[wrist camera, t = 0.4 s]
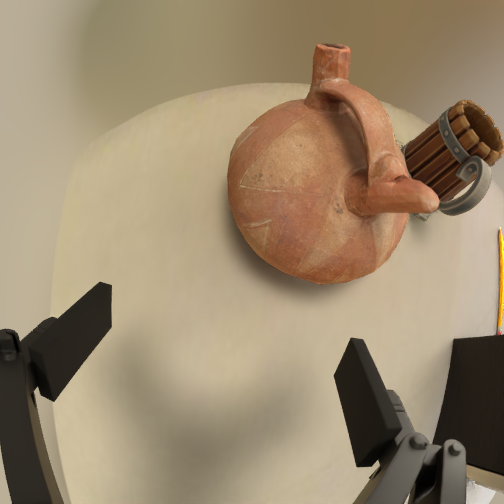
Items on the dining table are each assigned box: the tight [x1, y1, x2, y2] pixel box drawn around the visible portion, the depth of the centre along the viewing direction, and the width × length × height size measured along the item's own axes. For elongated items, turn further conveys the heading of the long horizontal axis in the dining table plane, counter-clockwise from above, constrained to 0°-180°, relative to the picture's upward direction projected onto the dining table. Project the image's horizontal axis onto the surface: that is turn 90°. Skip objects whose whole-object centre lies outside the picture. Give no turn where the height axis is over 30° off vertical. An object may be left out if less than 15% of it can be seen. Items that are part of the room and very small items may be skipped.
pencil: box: [497, 228, 504, 335], centre depth 38 cm, size 1×19×1 cm, turn 166°
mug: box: [401, 100, 504, 221], centre depth 32 cm, size 16×11×15 cm
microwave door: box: [466, 462, 504, 493], centre depth 20 cm, size 7×15×18 cm, turn 78°
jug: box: [227, 44, 440, 284], centre depth 26 cm, size 18×18×20 cm
